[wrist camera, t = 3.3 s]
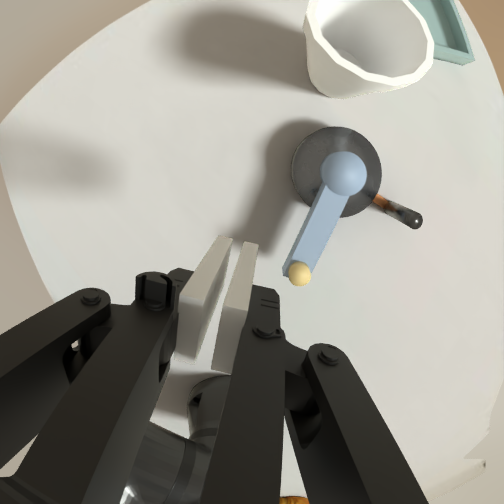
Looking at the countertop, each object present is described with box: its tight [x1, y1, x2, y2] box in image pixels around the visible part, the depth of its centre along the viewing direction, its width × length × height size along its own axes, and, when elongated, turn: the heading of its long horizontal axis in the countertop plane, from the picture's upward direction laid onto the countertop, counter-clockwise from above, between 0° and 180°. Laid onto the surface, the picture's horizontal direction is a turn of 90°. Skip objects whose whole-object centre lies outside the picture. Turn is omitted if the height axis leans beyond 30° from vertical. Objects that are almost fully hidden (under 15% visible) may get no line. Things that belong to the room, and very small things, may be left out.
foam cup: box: [303, 0, 434, 99], centre depth 18 cm, size 10×9×13 cm
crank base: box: [291, 127, 423, 229], centre depth 25 cm, size 12×10×6 cm
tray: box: [408, 0, 475, 65], centre depth 19 cm, size 14×14×3 cm
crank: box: [282, 151, 367, 286], centre depth 25 cm, size 13×4×3 cm, turn 158°
